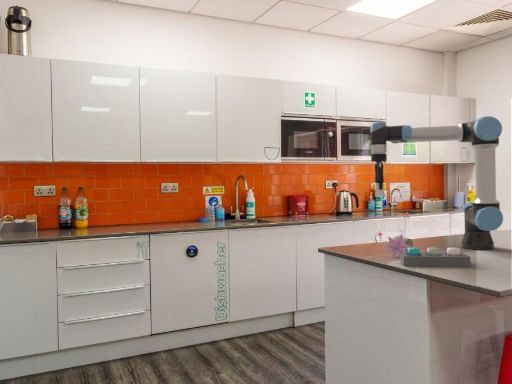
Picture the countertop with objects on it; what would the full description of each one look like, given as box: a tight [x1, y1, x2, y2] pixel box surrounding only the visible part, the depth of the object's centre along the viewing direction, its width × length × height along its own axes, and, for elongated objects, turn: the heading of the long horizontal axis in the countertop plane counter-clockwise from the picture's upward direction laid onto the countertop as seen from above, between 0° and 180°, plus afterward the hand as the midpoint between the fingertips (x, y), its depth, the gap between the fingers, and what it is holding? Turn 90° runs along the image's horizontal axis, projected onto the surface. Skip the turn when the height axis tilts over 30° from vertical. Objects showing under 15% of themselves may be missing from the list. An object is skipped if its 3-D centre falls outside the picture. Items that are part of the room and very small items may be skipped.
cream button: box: [446, 247, 461, 256], centre depth 184 cm, size 5×5×4 cm
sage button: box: [426, 246, 441, 255], centre depth 186 cm, size 5×5×4 cm
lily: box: [382, 234, 411, 259], centre depth 205 cm, size 12×12×10 cm
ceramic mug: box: [392, 235, 414, 252], centre depth 218 cm, size 11×8×8 cm
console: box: [399, 251, 471, 268], centre depth 186 cm, size 26×12×4 cm, turn 79°
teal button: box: [407, 246, 421, 255], centre depth 187 cm, size 5×5×4 cm
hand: (379, 196), depth 219 cm, fingers open, 13 cm apart
